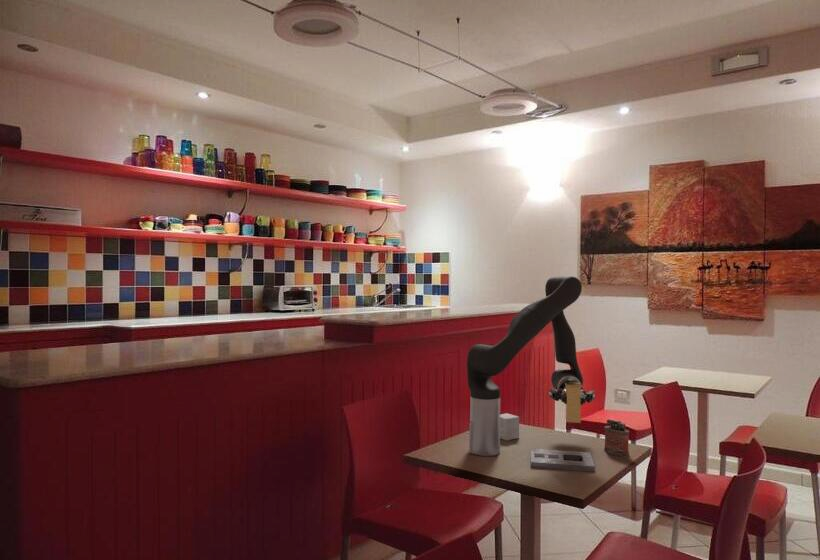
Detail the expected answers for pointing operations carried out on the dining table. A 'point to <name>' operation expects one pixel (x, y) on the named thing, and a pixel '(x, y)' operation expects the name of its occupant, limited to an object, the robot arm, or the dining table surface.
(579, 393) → the yellow rectangular block
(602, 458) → the dining table surface
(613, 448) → the lighter
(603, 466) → the dining table surface
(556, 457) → the grey slotted tray
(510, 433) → the product box
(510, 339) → the robot arm
